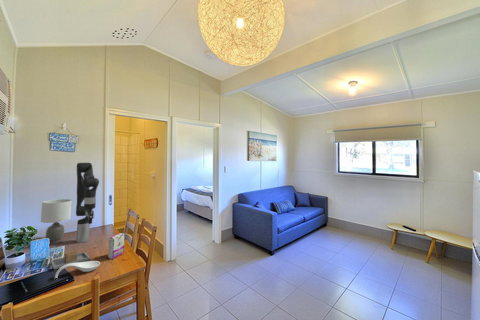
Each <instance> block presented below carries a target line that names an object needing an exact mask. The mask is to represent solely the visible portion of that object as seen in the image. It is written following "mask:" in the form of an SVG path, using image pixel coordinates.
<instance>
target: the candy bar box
mask: <svg viewBox="0 0 480 320" xmlns="http://www.w3.org/2000/svg"><path fill="white" fill-rule="evenodd" d="M125 238H126V237H125V233H121V232H120V233H117V234H115V235H113V236H110V237H108V252H107V253H108V254H107V257H108V259H110V260H114V259H117V258H118V257H120V256H121V255H123V254H125ZM122 253H123V254H122ZM119 255H120V256H119ZM117 256H118V257H117Z"/></svg>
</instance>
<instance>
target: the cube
mask: <svg viewBox="0 0 480 320" xmlns="http://www.w3.org/2000/svg"><path fill="white" fill-rule="evenodd" d="M77 254H78V252H77V251H76V250H71V251H68V252H65V253H64V257H65V259H64V261H65V263H70V262H73V261H77Z"/></svg>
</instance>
